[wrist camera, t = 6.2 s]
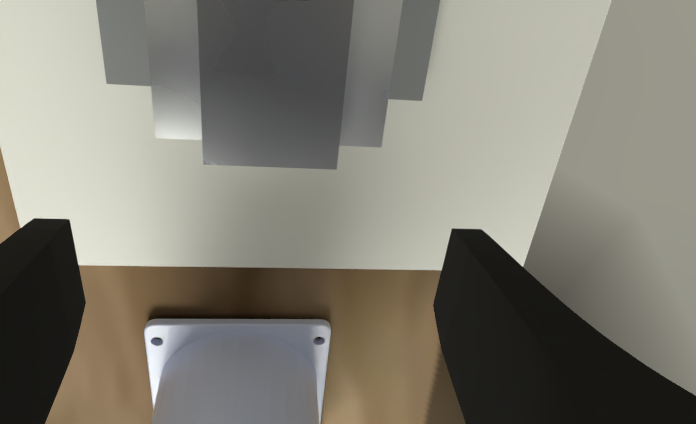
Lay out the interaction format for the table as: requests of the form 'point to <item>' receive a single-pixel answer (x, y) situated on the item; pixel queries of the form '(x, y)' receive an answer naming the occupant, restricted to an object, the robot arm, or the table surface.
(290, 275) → the table surface
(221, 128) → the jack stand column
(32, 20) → the jack stand base
